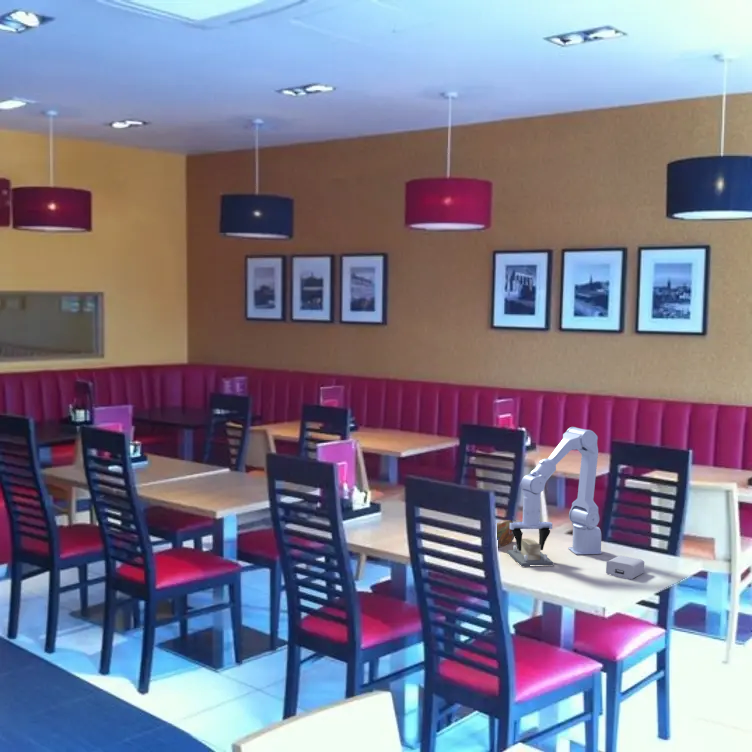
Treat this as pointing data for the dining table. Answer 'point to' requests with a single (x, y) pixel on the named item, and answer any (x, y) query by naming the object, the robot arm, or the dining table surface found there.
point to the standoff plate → (524, 559)
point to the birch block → (530, 548)
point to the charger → (625, 567)
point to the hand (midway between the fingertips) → (530, 549)
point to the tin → (504, 533)
